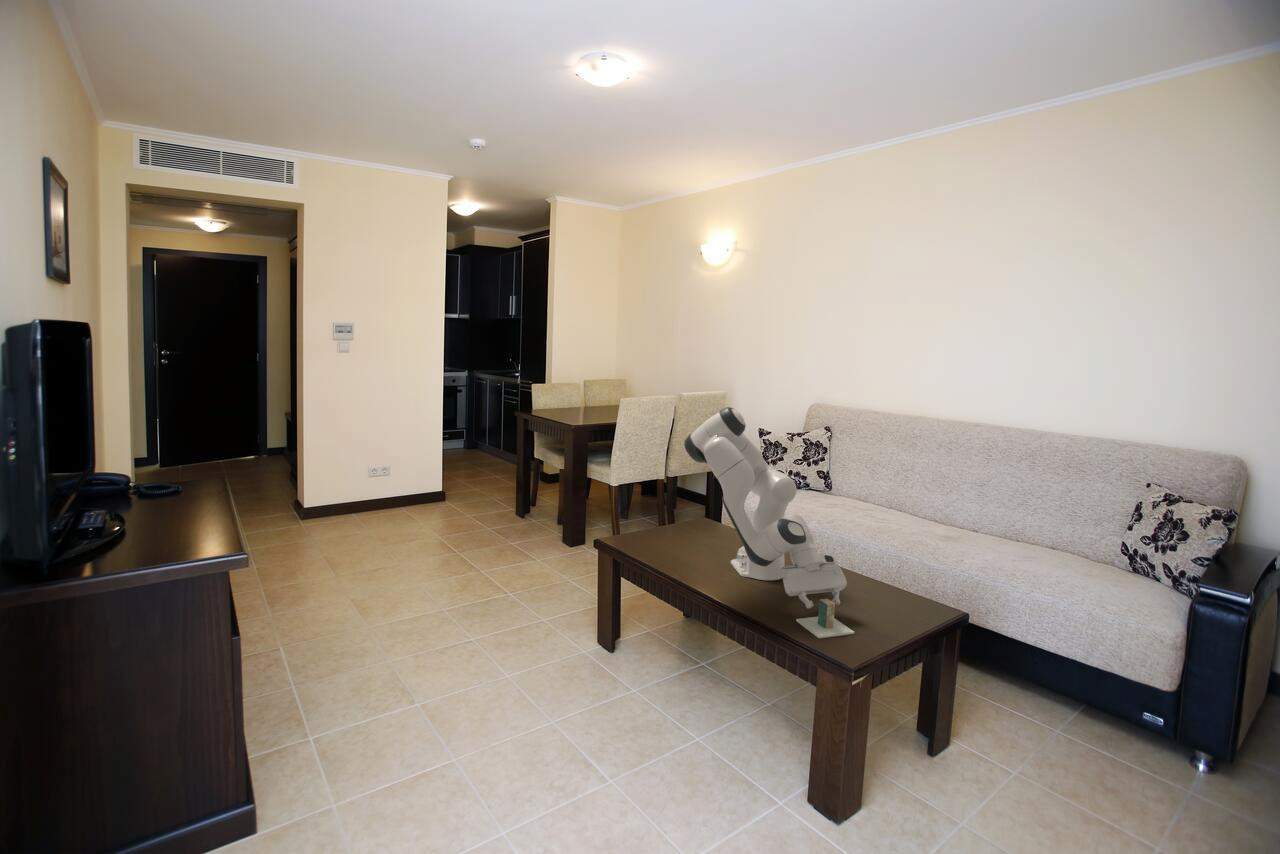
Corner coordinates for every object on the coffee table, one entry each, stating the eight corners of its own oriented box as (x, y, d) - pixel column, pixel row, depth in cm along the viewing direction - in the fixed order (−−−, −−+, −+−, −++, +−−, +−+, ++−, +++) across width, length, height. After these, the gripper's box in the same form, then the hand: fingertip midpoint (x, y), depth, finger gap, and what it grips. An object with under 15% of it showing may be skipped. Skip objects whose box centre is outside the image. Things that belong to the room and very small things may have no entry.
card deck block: (825, 629, 191) (827, 604, 190) (817, 623, 195) (819, 599, 194) (833, 628, 192) (835, 603, 191) (825, 622, 196) (827, 598, 195)
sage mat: (796, 621, 198) (796, 619, 198) (829, 616, 202) (829, 615, 201) (819, 638, 186) (819, 636, 186) (854, 633, 190) (854, 631, 190)
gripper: (782, 561, 197) (798, 605, 189) (839, 556, 204) (857, 598, 196) (774, 570, 202) (789, 613, 194) (830, 565, 208) (846, 606, 201)
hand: (823, 606), depth 195 cm, fingers open, 8 cm apart
